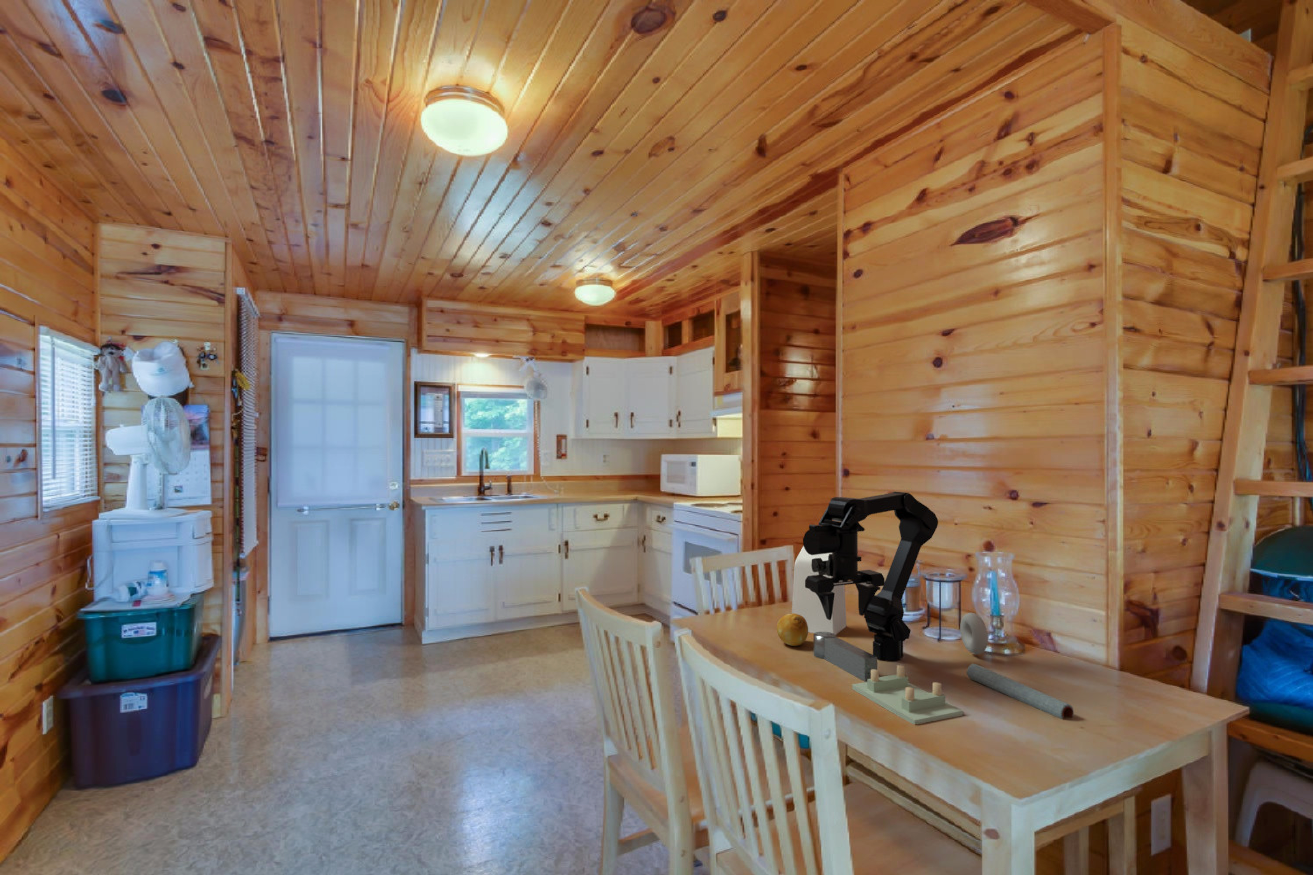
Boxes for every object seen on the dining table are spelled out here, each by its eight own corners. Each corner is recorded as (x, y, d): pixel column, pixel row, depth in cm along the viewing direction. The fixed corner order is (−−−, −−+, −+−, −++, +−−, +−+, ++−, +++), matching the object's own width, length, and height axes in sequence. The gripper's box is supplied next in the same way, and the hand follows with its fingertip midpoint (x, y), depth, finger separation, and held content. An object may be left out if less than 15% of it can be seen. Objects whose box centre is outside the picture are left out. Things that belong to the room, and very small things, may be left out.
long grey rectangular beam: (827, 650, 157) (827, 630, 157) (880, 678, 139) (880, 656, 139) (809, 652, 155) (809, 632, 155) (860, 681, 137) (861, 659, 137)
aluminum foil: (966, 679, 140) (966, 664, 140) (989, 675, 142) (989, 660, 142) (1061, 723, 118) (1061, 705, 118) (1086, 718, 120) (1086, 701, 120)
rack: (897, 681, 137) (897, 658, 137) (963, 715, 121) (963, 689, 121) (852, 688, 133) (852, 665, 133) (914, 725, 116) (914, 698, 116)
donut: (957, 646, 160) (957, 607, 160) (971, 646, 160) (971, 607, 160) (976, 660, 150) (976, 619, 150) (990, 660, 150) (990, 619, 150)
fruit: (812, 650, 158) (812, 618, 158) (779, 649, 158) (779, 618, 158) (804, 639, 166) (805, 609, 166) (774, 639, 166) (774, 609, 166)
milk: (790, 628, 175) (791, 536, 175) (806, 618, 184) (806, 531, 184) (832, 636, 168) (833, 540, 168) (846, 626, 178) (846, 535, 178)
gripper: (855, 542, 157) (855, 604, 157) (791, 548, 151) (792, 612, 151) (886, 550, 147) (886, 616, 147) (819, 556, 140) (819, 625, 140)
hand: (845, 617), depth 146 cm, fingers open, 9 cm apart
